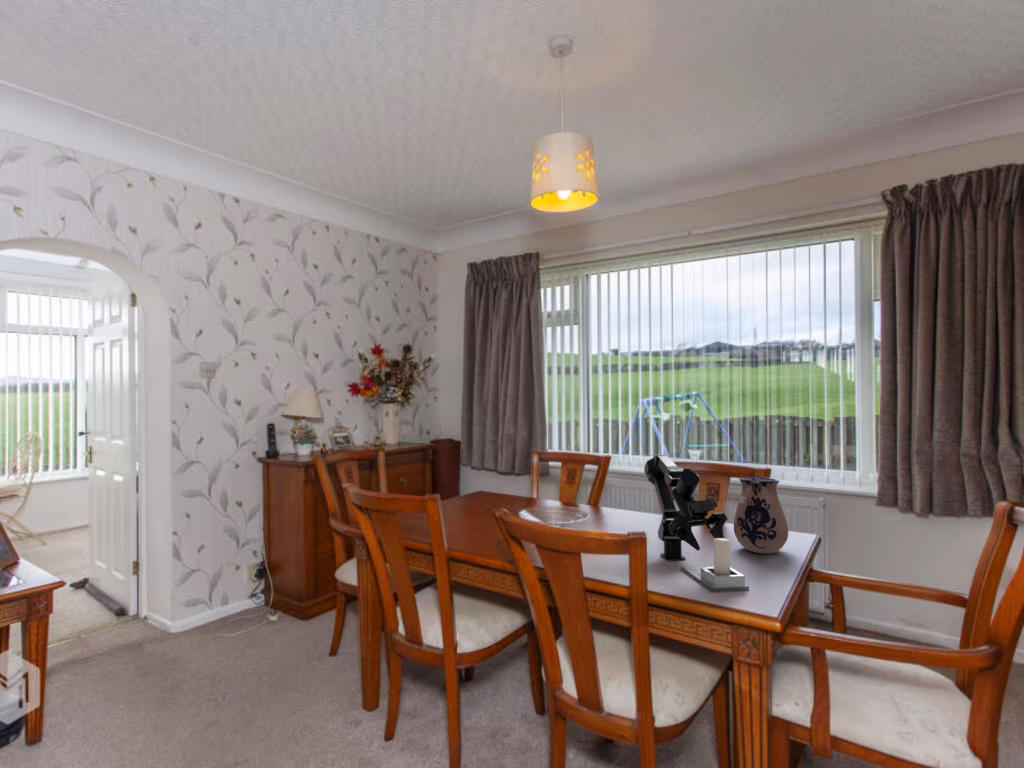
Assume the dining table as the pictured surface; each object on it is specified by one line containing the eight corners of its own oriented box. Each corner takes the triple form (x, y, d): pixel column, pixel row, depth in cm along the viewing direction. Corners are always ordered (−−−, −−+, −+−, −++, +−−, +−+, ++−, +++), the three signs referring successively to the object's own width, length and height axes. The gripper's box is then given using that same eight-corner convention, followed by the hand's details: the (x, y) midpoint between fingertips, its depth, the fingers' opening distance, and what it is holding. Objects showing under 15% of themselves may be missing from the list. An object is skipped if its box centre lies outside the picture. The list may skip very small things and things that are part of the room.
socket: (680, 569, 173) (680, 556, 173) (713, 567, 175) (713, 554, 175) (711, 592, 153) (711, 577, 153) (748, 590, 154) (748, 575, 154)
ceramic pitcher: (731, 554, 189) (730, 481, 190) (737, 539, 208) (736, 473, 209) (788, 560, 181) (786, 484, 182) (789, 545, 200) (788, 476, 200)
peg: (712, 579, 161) (711, 537, 161) (727, 579, 160) (727, 538, 160) (716, 584, 156) (715, 541, 156) (732, 584, 156) (731, 542, 156)
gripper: (673, 490, 164) (698, 536, 154) (723, 486, 171) (750, 530, 161) (657, 511, 172) (681, 557, 161) (705, 506, 178) (731, 550, 168)
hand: (711, 548), depth 162 cm, fingers open, 9 cm apart
